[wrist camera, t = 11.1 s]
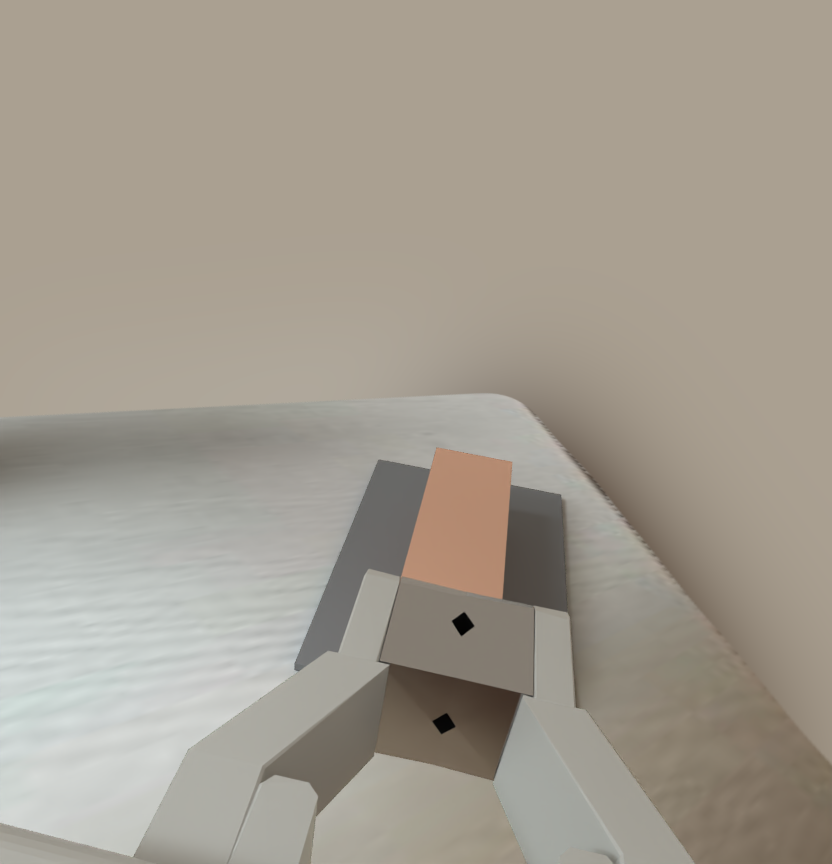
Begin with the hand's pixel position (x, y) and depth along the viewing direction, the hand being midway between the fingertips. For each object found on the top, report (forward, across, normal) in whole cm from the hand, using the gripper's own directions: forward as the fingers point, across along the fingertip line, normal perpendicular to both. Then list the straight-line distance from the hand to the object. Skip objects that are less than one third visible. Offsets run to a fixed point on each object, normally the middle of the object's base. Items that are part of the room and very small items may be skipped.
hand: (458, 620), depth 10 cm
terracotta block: (+14, 0, +18) cm, 22 cm away
